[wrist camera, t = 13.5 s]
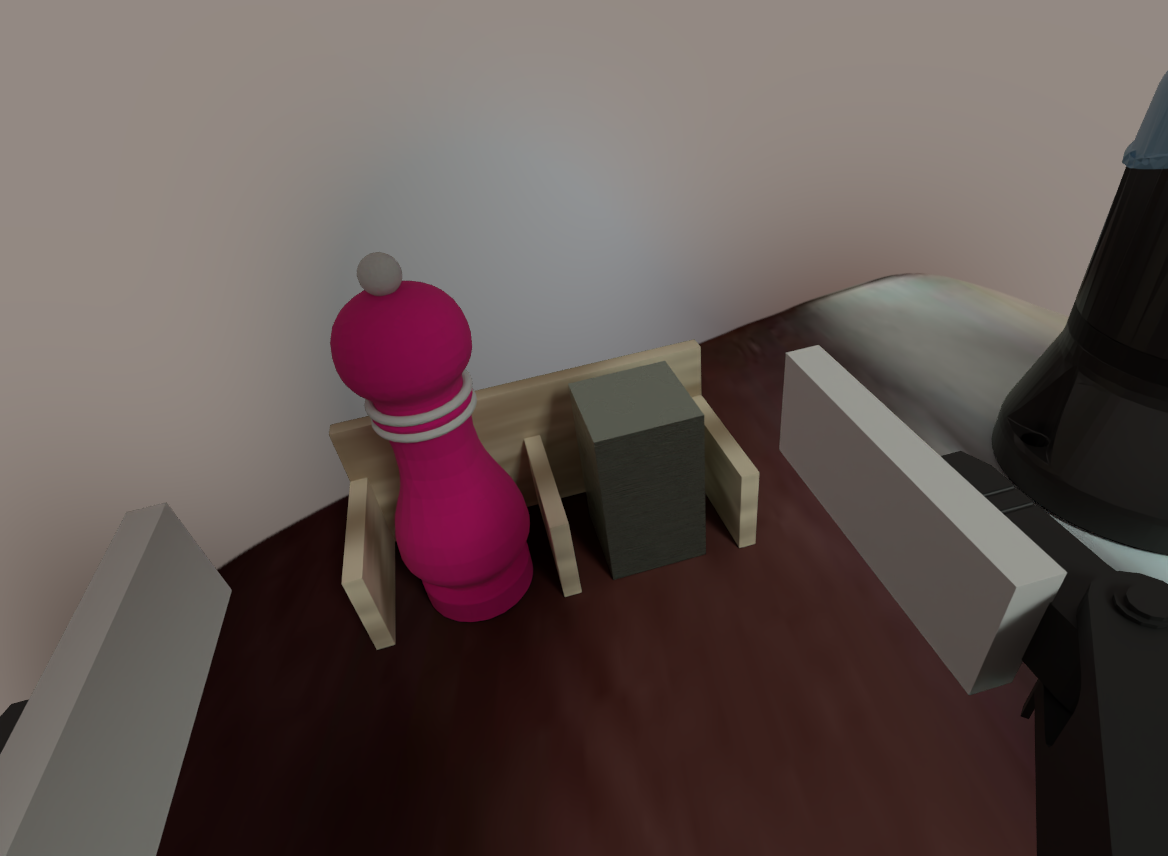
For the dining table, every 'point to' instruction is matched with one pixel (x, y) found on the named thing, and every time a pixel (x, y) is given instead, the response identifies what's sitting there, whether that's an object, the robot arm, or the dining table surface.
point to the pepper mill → (434, 442)
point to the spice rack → (522, 474)
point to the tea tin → (642, 466)
